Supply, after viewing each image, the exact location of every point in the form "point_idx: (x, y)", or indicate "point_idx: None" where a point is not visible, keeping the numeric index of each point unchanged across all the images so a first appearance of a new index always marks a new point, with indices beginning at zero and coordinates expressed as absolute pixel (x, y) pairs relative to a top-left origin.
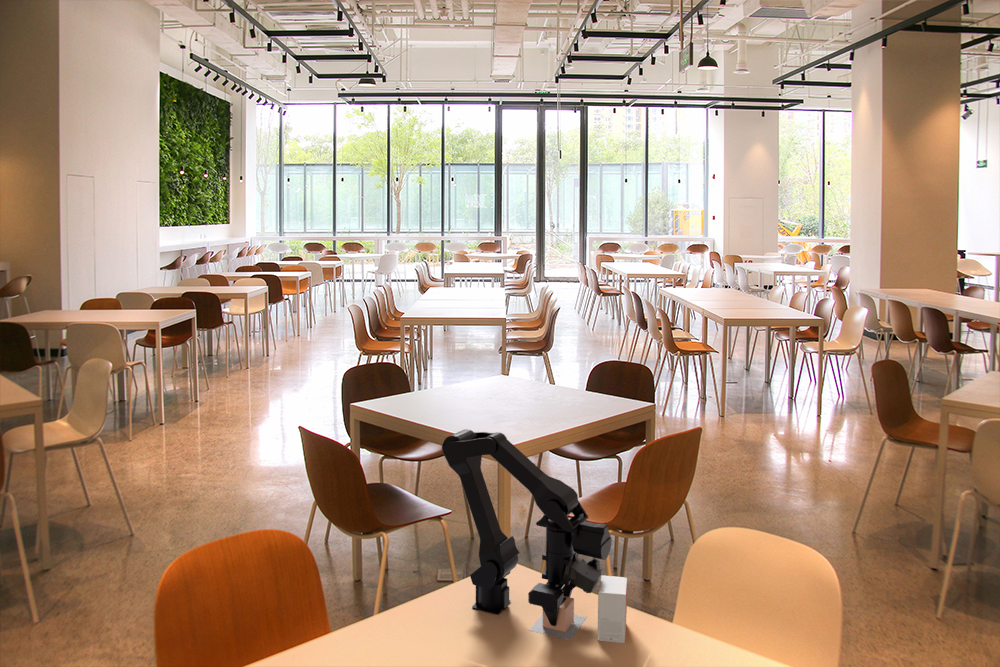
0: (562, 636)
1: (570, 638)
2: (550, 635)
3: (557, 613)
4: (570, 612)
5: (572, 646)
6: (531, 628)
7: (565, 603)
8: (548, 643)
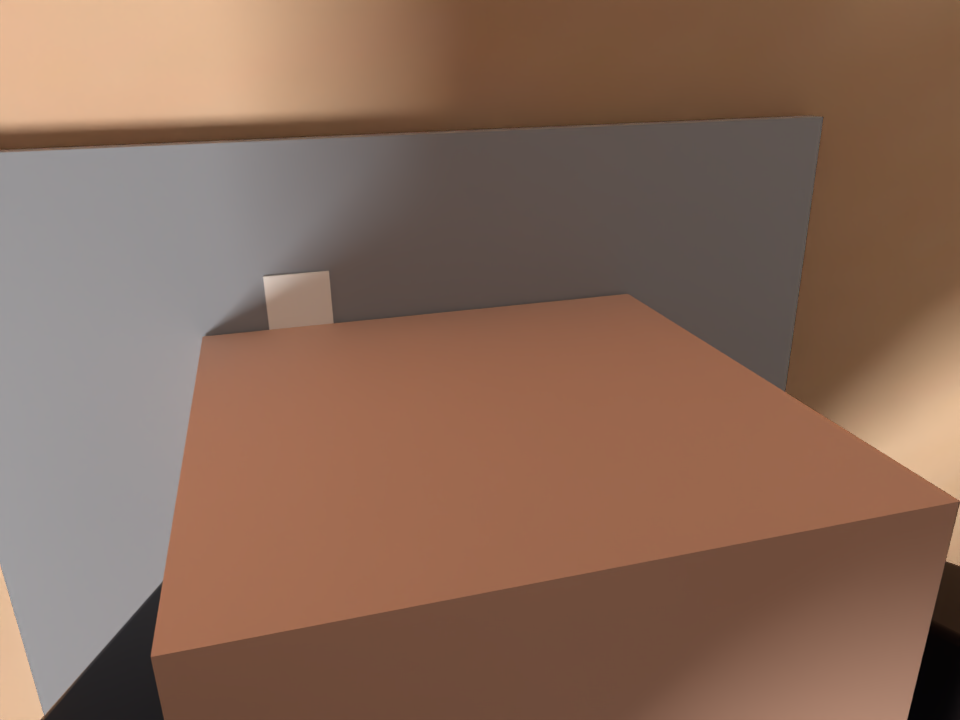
0: (753, 276)
1: (766, 139)
2: None
3: (957, 577)
4: (451, 424)
5: (910, 30)
6: None
7: (646, 675)
8: (911, 366)
